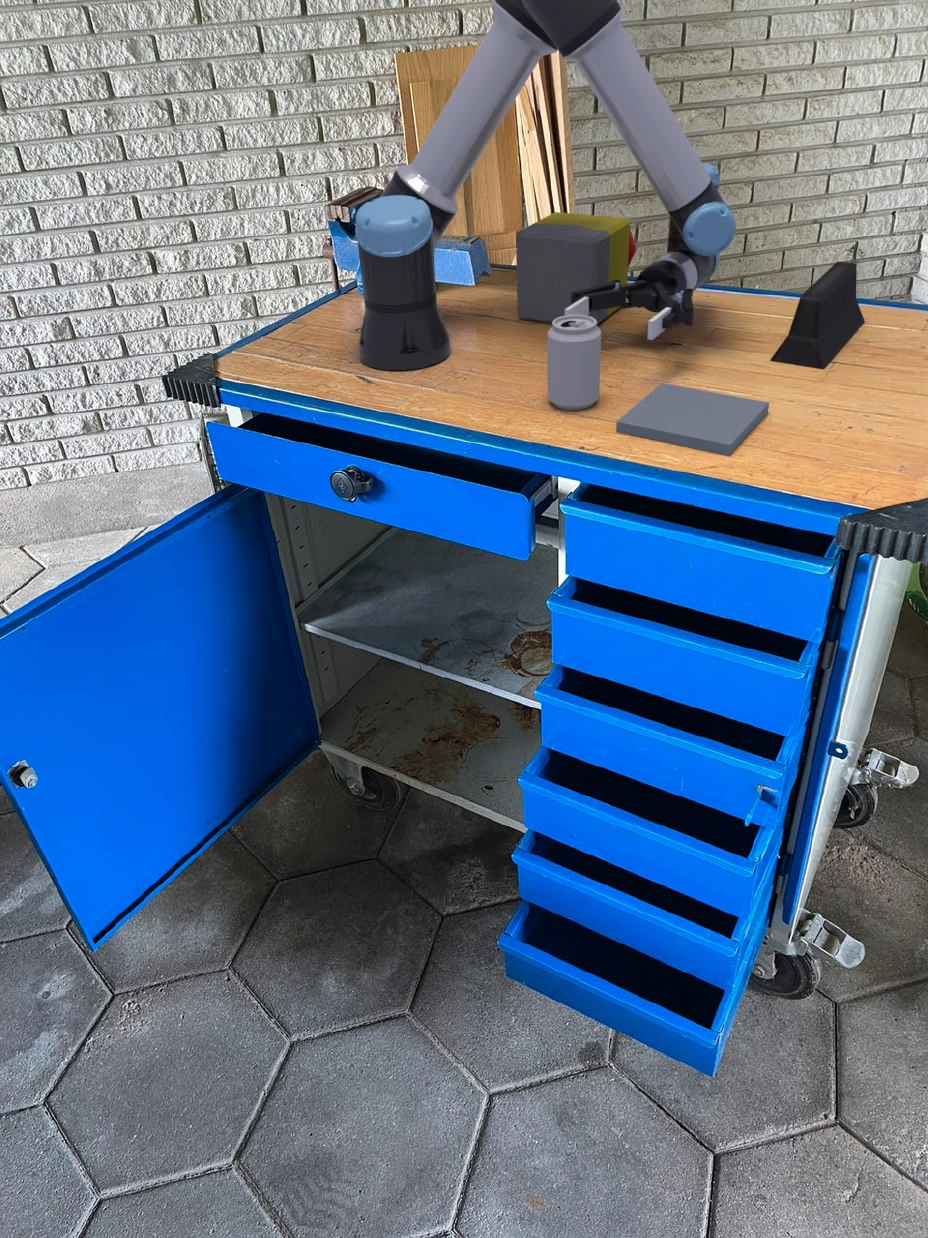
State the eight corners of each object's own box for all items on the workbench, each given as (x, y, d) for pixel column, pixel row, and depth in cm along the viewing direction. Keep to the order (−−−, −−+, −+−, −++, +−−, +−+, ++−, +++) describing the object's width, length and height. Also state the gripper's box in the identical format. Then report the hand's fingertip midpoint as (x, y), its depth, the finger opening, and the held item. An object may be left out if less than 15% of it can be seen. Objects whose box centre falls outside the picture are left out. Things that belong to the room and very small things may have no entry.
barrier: (824, 371, 146) (836, 305, 140) (768, 362, 150) (777, 297, 144) (865, 323, 161) (877, 262, 155) (813, 316, 165) (823, 256, 159)
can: (566, 387, 145) (567, 308, 138) (609, 398, 141) (612, 317, 134) (537, 404, 140) (536, 323, 133) (580, 416, 136) (582, 333, 129)
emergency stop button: (646, 289, 181) (651, 204, 172) (593, 330, 164) (596, 239, 156) (574, 280, 187) (575, 199, 179) (515, 319, 171) (514, 231, 162)
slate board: (616, 431, 131) (616, 421, 131) (660, 392, 141) (661, 382, 141) (728, 455, 124) (730, 444, 123) (767, 412, 134) (769, 402, 133)
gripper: (737, 315, 153) (685, 361, 138) (595, 297, 164) (534, 337, 150) (742, 267, 148) (689, 309, 134) (596, 251, 160) (533, 289, 146)
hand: (607, 324), depth 142 cm, fingers open, 13 cm apart
